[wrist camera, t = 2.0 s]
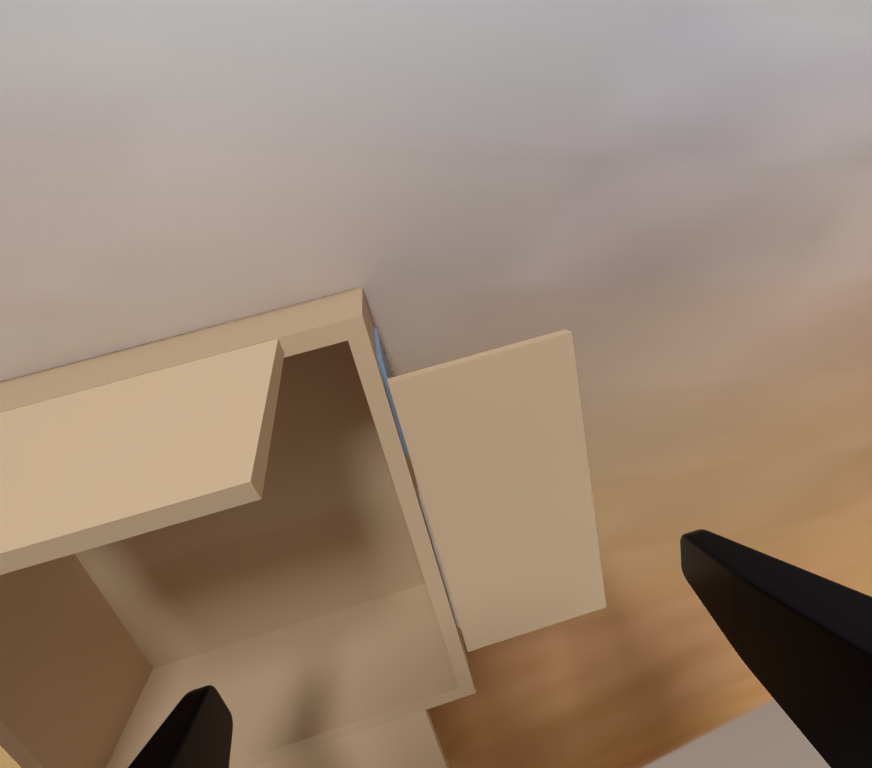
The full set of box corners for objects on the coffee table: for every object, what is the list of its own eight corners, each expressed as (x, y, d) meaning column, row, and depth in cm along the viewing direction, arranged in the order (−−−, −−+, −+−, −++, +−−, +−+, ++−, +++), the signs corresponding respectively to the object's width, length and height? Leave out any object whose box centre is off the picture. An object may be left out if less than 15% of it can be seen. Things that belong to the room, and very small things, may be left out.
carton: (564, 621, 18) (624, 736, 14) (200, 740, 17) (149, 900, 13) (499, 251, 13) (564, 260, 9) (-38, 391, 12) (-254, 478, 8)
